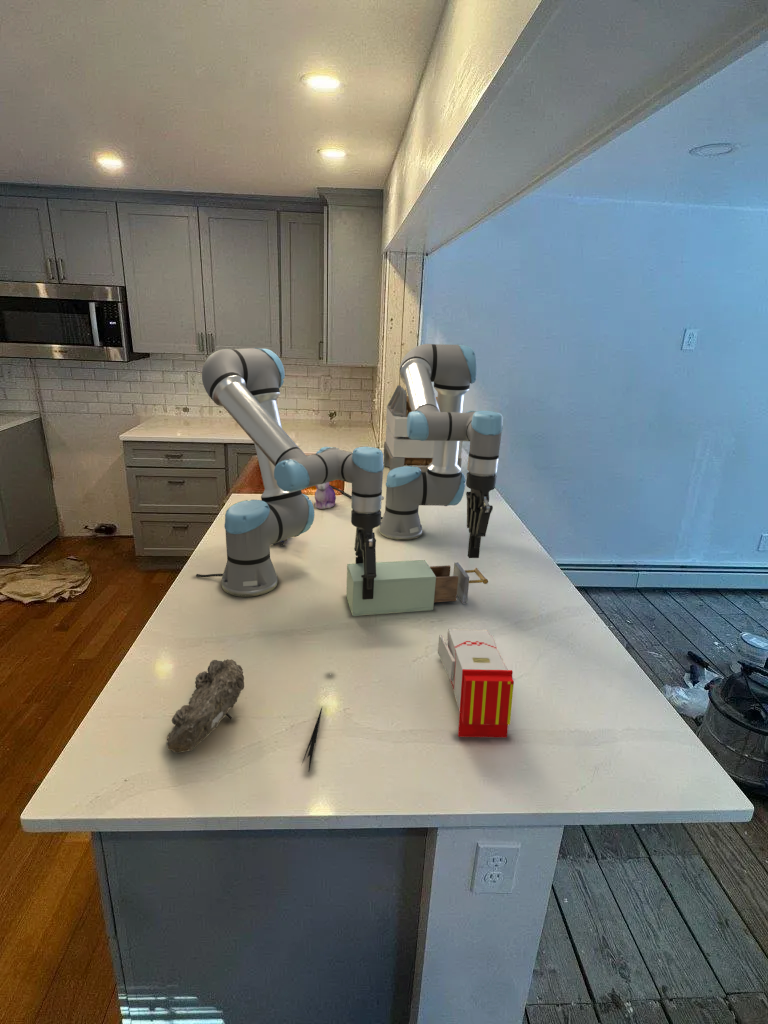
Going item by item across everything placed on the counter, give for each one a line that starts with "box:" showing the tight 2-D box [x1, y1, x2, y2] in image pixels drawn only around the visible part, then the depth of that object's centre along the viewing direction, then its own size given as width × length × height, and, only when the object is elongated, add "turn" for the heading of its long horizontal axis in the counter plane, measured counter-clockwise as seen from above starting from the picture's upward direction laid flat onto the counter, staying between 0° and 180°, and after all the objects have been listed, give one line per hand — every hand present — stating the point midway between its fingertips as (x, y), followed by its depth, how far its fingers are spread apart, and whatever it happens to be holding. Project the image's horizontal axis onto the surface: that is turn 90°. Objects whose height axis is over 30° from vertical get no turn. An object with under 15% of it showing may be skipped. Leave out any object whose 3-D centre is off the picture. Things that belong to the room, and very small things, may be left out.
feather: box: [301, 673, 332, 771], centre depth 108 cm, size 2×28×2 cm
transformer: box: [383, 384, 464, 471], centre depth 268 cm, size 34×33×41 cm
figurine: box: [314, 482, 337, 510], centre depth 222 cm, size 9×10×15 cm
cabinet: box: [346, 559, 436, 617], centre depth 151 cm, size 22×10×10 cm, turn 102°
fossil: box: [166, 658, 245, 754], centre depth 106 cm, size 22×10×15 cm
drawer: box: [429, 562, 489, 604], centre depth 154 cm, size 26×9×8 cm, turn 102°
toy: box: [437, 628, 515, 738], centre depth 117 cm, size 12×13×30 cm
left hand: (363, 588), depth 149 cm, fingers closed on cabinet, 10 cm apart
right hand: (473, 556), depth 153 cm, fingers closed
